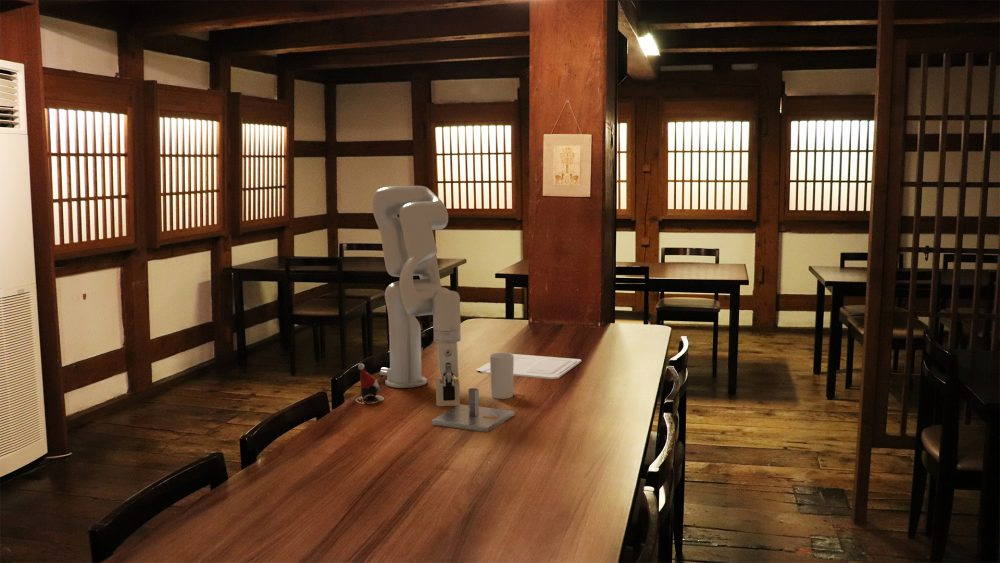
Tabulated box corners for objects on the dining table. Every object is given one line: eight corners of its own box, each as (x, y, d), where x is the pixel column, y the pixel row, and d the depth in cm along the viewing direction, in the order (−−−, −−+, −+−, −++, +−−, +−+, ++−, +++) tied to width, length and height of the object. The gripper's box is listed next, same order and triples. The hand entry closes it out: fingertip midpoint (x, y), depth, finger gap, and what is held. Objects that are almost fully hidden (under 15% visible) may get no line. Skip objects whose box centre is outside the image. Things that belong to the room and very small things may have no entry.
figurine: (395, 382, 247) (375, 364, 238) (384, 414, 243) (364, 396, 233) (371, 380, 251) (351, 361, 241) (360, 411, 246) (339, 393, 237)
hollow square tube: (436, 406, 236) (436, 383, 235) (436, 399, 242) (435, 378, 241) (459, 405, 237) (459, 383, 236) (458, 399, 243) (458, 377, 242)
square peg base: (431, 424, 219) (431, 393, 218) (460, 408, 233) (459, 379, 232) (487, 432, 212) (487, 400, 211) (513, 415, 227) (513, 385, 226)
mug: (508, 400, 242) (508, 358, 240) (486, 397, 244) (486, 356, 243) (521, 391, 251) (521, 351, 249) (500, 389, 253) (499, 349, 252)
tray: (474, 373, 275) (474, 369, 275) (506, 356, 301) (506, 352, 301) (556, 381, 265) (556, 376, 265) (582, 362, 290) (582, 357, 290)
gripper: (462, 340, 229) (463, 403, 231) (459, 329, 246) (460, 388, 248) (434, 341, 228) (435, 404, 230) (433, 330, 245) (434, 389, 247)
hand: (448, 395), depth 239 cm, fingers open, 9 cm apart
